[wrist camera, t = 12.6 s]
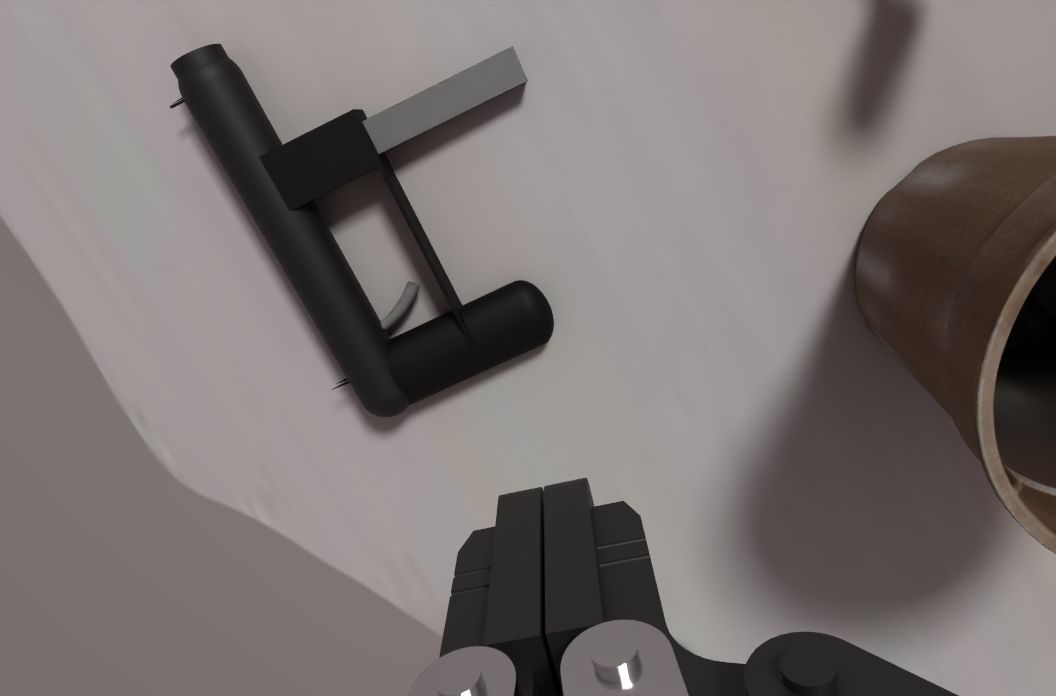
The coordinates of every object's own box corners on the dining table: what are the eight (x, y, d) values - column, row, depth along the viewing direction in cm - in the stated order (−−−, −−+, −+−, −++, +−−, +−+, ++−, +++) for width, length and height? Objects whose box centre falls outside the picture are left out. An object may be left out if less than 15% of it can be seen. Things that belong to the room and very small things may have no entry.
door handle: (454, -90, 31) (132, 78, 33) (631, 316, 37) (352, 443, 39) (458, -72, 34) (165, 81, 36) (620, 300, 40) (363, 418, 42)
